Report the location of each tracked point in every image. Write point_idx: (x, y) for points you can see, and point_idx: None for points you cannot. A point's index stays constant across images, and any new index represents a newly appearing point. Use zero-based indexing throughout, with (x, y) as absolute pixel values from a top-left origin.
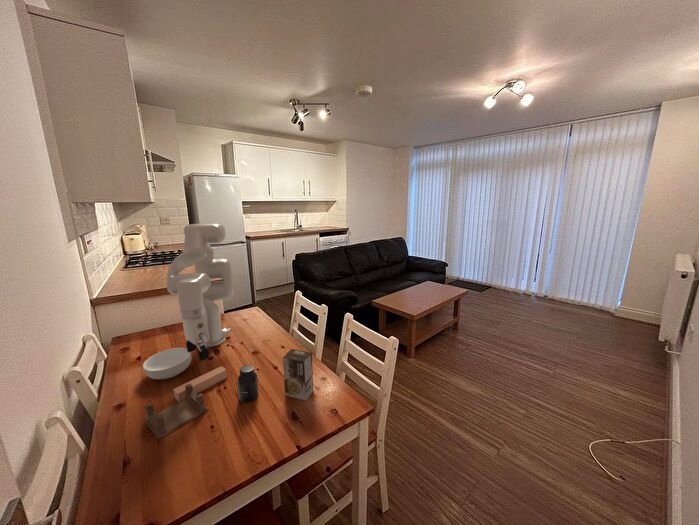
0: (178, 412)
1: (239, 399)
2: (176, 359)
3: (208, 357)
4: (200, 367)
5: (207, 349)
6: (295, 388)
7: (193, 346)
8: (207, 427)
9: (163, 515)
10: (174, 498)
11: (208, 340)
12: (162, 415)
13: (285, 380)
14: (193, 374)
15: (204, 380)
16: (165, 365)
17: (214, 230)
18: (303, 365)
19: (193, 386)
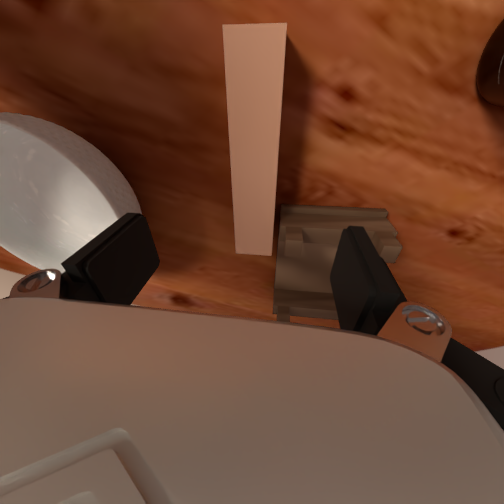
0: (319, 260)
1: (496, 105)
2: (14, 155)
3: (361, 228)
4: (107, 92)
5: (390, 284)
6: None
7: (131, 252)
8: (441, 240)
9: (498, 344)
10: (497, 332)
11: (454, 375)
12: (293, 280)
13: None
14: (148, 142)
15: (276, 169)
16: (43, 193)
17: None
18: None
19: (274, 211)
